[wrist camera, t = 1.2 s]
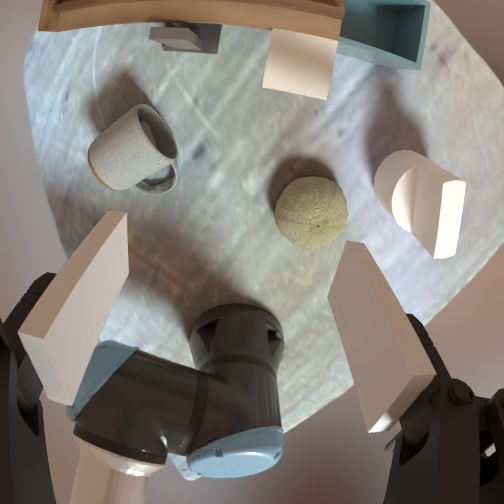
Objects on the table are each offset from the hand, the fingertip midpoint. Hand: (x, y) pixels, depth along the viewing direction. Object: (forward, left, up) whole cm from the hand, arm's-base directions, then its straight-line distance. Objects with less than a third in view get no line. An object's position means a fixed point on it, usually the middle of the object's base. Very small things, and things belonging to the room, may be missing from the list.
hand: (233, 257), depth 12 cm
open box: (+16, -11, -27) cm, 34 cm away
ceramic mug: (-3, +11, -28) cm, 30 cm away
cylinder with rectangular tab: (-2, -22, -28) cm, 35 cm away
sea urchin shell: (-8, -10, -28) cm, 31 cm away
